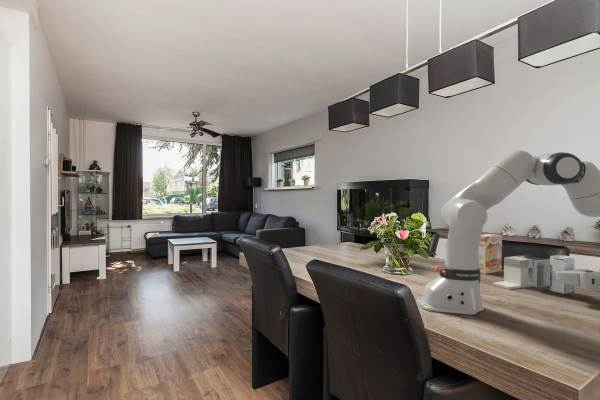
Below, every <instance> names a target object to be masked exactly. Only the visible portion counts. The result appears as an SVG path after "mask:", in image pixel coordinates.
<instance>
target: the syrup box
mask: <svg viewBox="0 0 600 400" xmlns="http://www.w3.org/2000/svg"><path fill="white" fill-rule="evenodd" d="M549 259H550V286H549V291H551V292H555V293H559V294H563V295H565V294H566V295H567V294H573V293H574V291H575V290H574V288H575V286H573V285H569V284H565V283H562V282H559V281H557V280H556V275H553V274H552V271H553V270H558V271H566V270H575V257H574V256H569V255H562V254H561V255H560V254H559V255H558V254H557V255H550V257H549Z"/></svg>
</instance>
